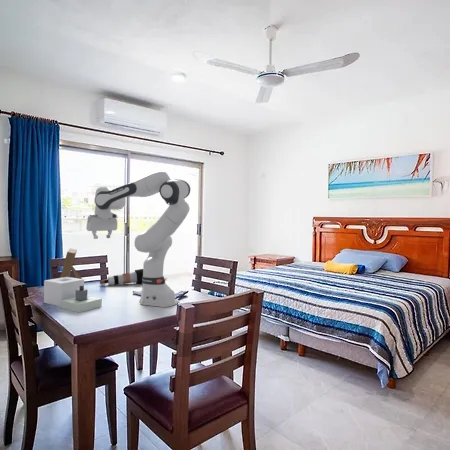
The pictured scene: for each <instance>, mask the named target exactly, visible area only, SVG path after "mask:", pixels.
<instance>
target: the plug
mask: <svg viewBox="0 0 450 450" xmlns="http://www.w3.org/2000/svg"><path fill="white" fill-rule="evenodd" d="M88 291H89V290H88V288H87V289H86V288H85V285H84V286H80V289H78V290H76V300H77V301H84V300H87V296H88Z"/></svg>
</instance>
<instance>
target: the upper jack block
mask: <svg viewBox="0 0 450 450" xmlns="http://www.w3.org/2000/svg"><path fill="white" fill-rule="evenodd" d="M80 286H84V287H85V279H84V278H82V279H78V278H75V277H71V276H70V277H63V278H60V277H58V278H51V279H45V280H44V281H43V288H44V289H43V303H44V304H47V305H51V306H57V307H60V300H64V299H68V298H73V297H76V290H78V289H80Z"/></svg>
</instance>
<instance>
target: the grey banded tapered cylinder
mask: <svg viewBox="0 0 450 450" xmlns="http://www.w3.org/2000/svg"><path fill="white" fill-rule="evenodd" d="M142 276H143V268H140V269H135V270H134V271H132V272H127V273H122V274H117V275H110V276H107V279H104V280H99V284H100V285H102V284H108V287H109V286H116V285H125V284H126V285H127V284H128V285H129V284H134V283H136V285H139V284H140V285H143V283H142Z"/></svg>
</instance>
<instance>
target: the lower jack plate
mask: <svg viewBox="0 0 450 450" xmlns="http://www.w3.org/2000/svg"><path fill="white" fill-rule="evenodd" d="M102 300H103V299H102V298H101V297H95V296H90V295H87V300H84V301H77V300H76V297H73V298H68V299H64V300H60V306H59V307H60V309H61V310H62V309H63V310H67V311H72V312H75V313H82V312H86V311H89V310H93V309H96V308H99V307H102V303H103V301H102Z"/></svg>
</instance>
